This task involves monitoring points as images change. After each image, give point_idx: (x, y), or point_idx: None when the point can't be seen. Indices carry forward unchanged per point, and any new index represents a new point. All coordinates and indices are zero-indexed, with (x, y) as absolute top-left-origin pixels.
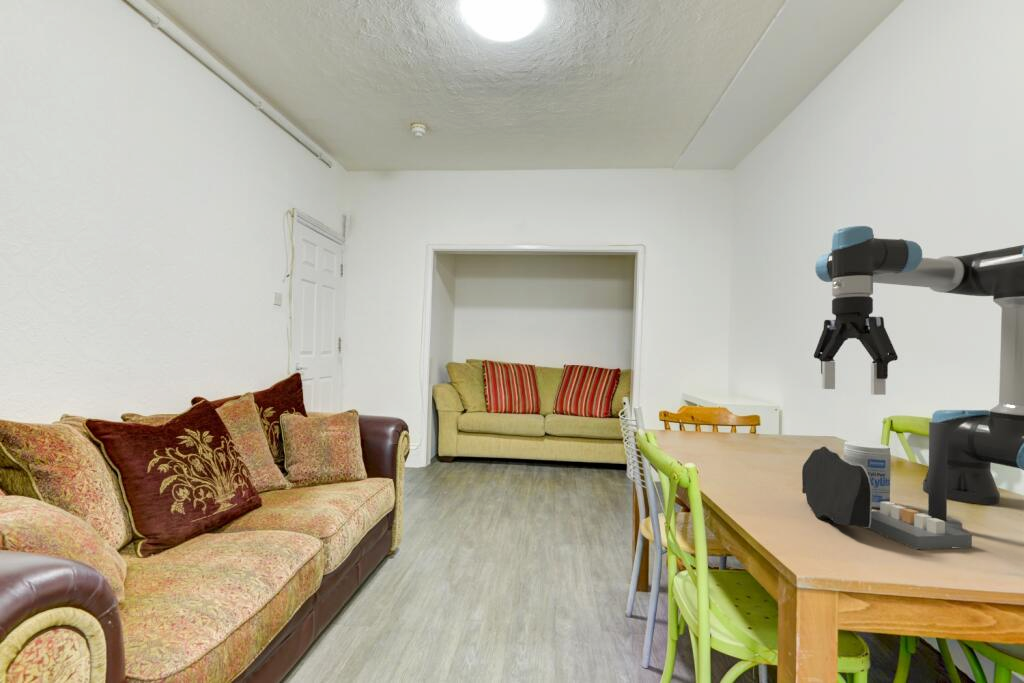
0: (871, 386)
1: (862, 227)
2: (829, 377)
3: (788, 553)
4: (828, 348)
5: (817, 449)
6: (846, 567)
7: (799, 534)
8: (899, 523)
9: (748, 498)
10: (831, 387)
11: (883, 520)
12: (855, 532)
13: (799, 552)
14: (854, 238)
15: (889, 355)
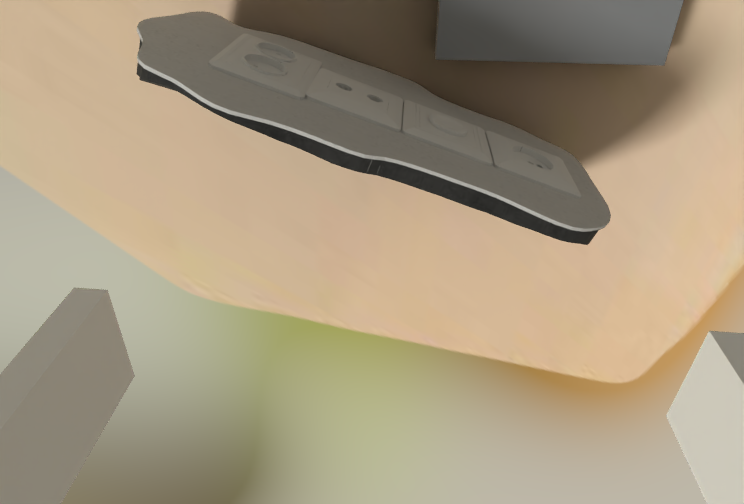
0: (702, 478)
1: None
2: (57, 435)
3: (560, 352)
4: None
5: (162, 84)
6: (648, 302)
7: (479, 268)
8: (564, 9)
9: (198, 211)
10: (110, 332)
11: (527, 41)
12: None
13: (562, 332)
14: None
15: None
